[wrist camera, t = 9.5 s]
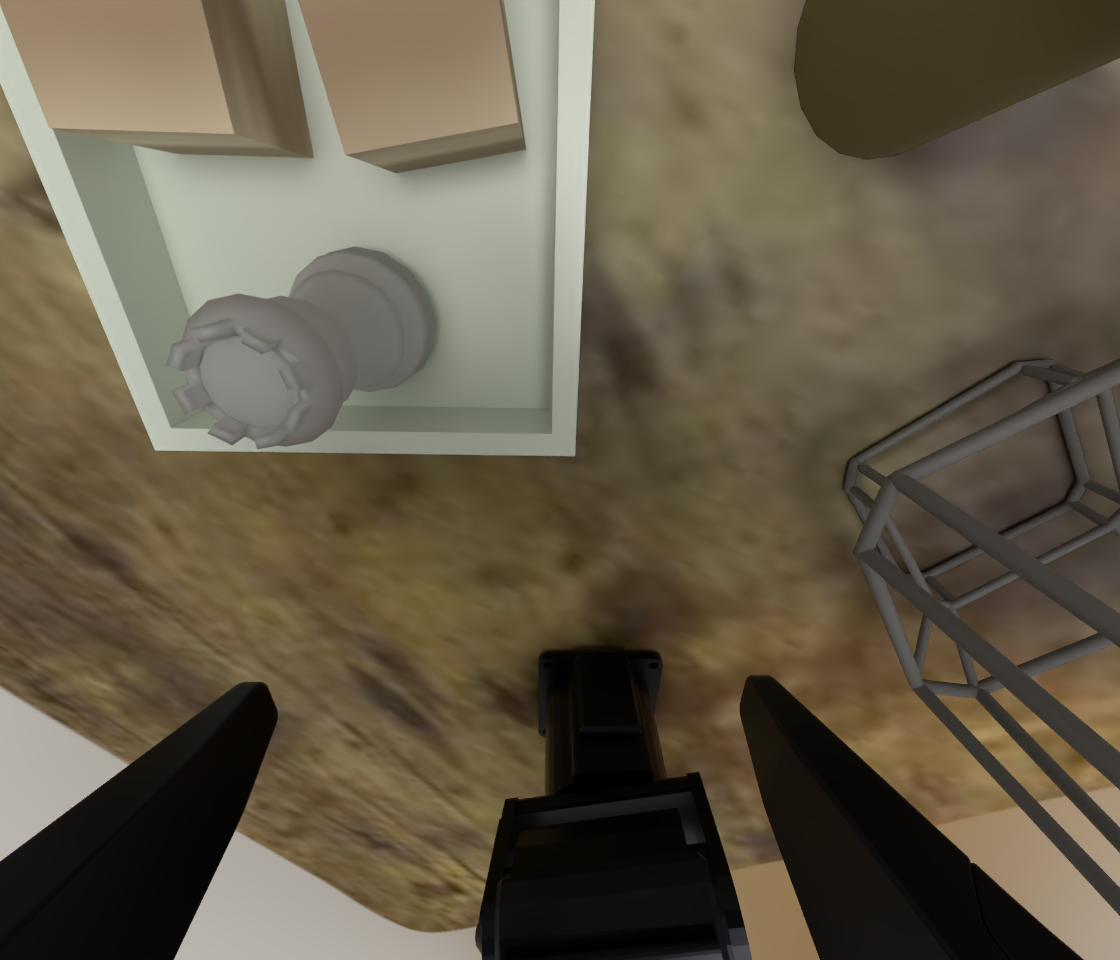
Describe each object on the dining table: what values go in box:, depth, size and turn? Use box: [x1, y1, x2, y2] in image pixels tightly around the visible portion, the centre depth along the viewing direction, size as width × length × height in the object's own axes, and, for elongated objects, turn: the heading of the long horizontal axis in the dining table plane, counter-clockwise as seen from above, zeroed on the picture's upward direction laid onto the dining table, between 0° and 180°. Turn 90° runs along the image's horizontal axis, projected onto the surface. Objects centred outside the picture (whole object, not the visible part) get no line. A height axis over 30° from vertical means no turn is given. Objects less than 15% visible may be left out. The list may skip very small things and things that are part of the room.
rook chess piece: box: [166, 246, 436, 450], centre depth 13 cm, size 4×4×8 cm
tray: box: [0, 0, 595, 456], centre depth 14 cm, size 14×14×3 cm
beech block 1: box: [0, 0, 314, 158], centre depth 11 cm, size 4×4×4 cm
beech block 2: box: [298, 0, 526, 173], centre depth 11 cm, size 4×4×4 cm
